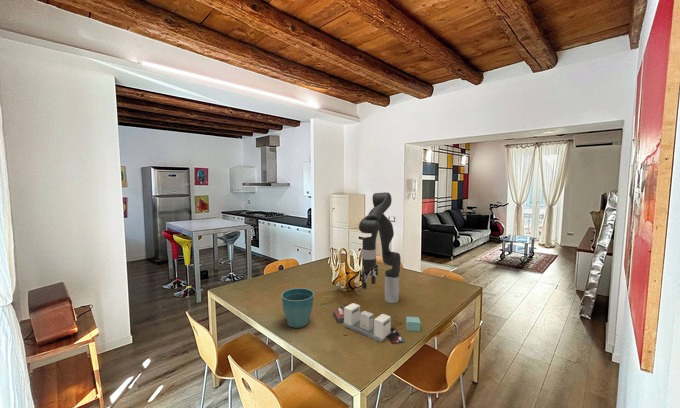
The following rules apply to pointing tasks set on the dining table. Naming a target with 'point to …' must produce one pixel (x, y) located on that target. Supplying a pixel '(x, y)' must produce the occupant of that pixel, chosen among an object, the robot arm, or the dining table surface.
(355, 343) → the dining table surface
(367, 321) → the block
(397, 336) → the smartphone
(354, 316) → the block
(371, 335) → the grey rectangular tray
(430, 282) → the dining table surface
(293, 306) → the flower pot
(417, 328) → the block
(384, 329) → the module
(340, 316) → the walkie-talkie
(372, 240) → the robot arm
